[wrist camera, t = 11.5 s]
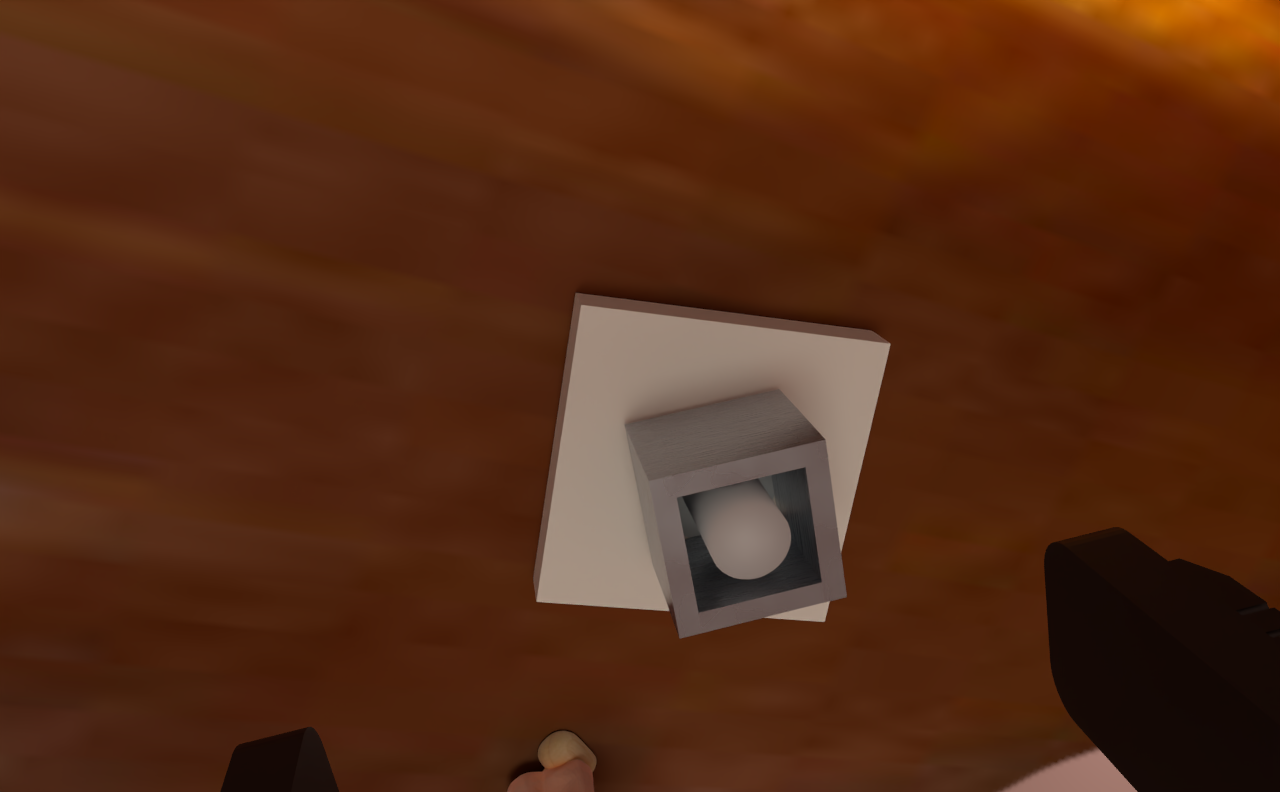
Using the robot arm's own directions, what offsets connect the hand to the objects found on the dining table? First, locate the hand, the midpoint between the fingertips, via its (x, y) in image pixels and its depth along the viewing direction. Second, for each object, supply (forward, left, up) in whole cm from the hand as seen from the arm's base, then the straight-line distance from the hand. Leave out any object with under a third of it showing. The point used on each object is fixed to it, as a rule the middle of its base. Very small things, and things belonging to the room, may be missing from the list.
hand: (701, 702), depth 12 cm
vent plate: (+8, -8, -30) cm, 32 cm away
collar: (+8, -8, -28) cm, 30 cm away
